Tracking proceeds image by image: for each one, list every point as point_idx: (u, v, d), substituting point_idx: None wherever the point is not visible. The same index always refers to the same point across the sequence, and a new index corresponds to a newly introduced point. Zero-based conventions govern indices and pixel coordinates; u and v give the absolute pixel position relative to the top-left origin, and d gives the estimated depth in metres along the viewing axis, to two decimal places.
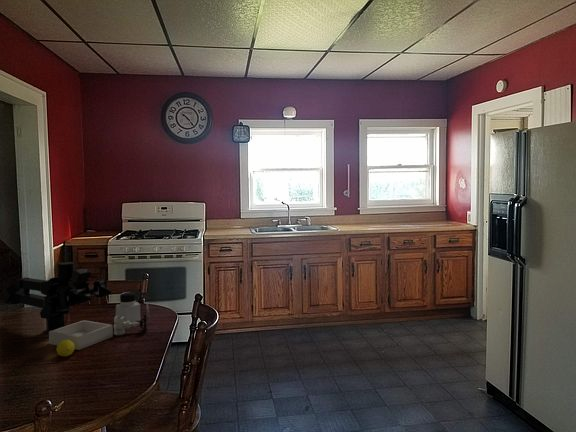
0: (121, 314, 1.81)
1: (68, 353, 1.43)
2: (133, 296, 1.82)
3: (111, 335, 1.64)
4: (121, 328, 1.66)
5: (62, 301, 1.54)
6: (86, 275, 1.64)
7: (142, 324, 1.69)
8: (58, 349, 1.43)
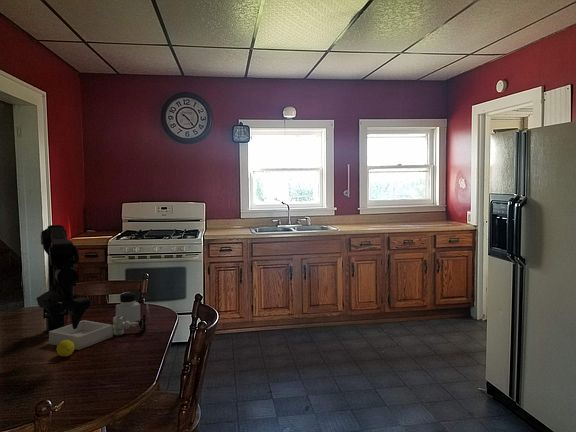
0: (121, 314, 1.81)
1: (68, 353, 1.43)
2: (133, 296, 1.82)
3: (111, 335, 1.64)
4: (120, 328, 1.66)
5: None
6: None
7: (141, 324, 1.69)
8: (58, 349, 1.43)
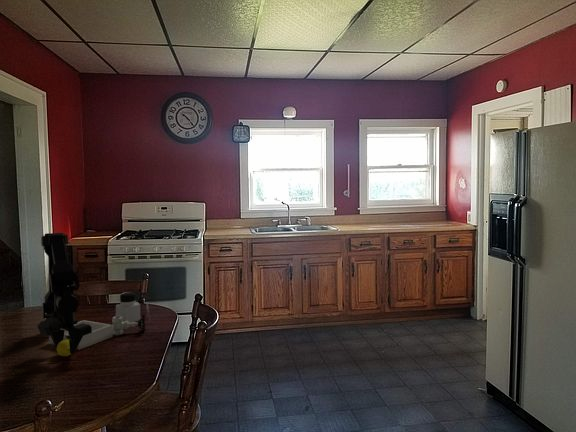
0: (121, 314, 1.81)
1: (68, 352, 1.43)
2: (133, 296, 1.82)
3: (111, 335, 1.64)
4: (119, 328, 1.66)
5: None
6: None
7: (140, 324, 1.69)
8: (58, 349, 1.43)
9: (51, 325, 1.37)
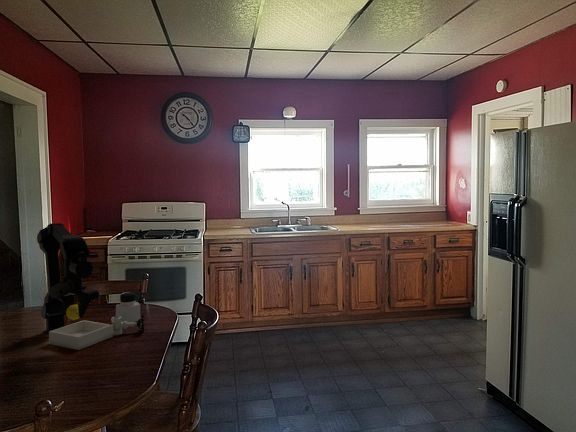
0: (121, 314, 1.81)
1: (77, 316, 1.52)
2: (133, 296, 1.82)
3: (111, 335, 1.64)
4: (118, 328, 1.66)
5: None
6: None
7: (139, 324, 1.69)
8: (67, 312, 1.52)
9: (61, 289, 1.46)
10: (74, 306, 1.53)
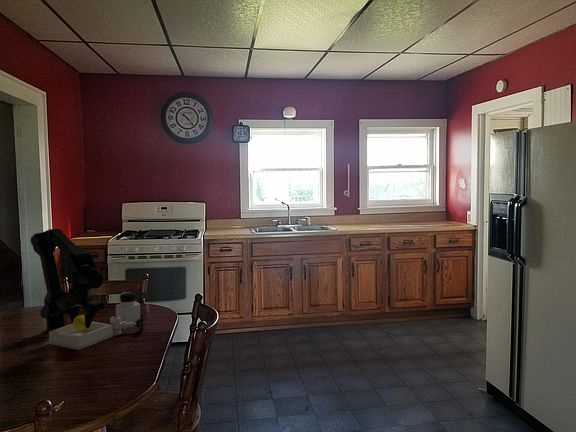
0: (121, 314, 1.81)
1: (83, 326, 1.58)
2: (133, 296, 1.82)
3: (111, 335, 1.64)
4: (118, 328, 1.66)
5: None
6: None
7: (139, 324, 1.69)
8: (74, 323, 1.58)
9: (69, 300, 1.51)
10: (81, 317, 1.59)
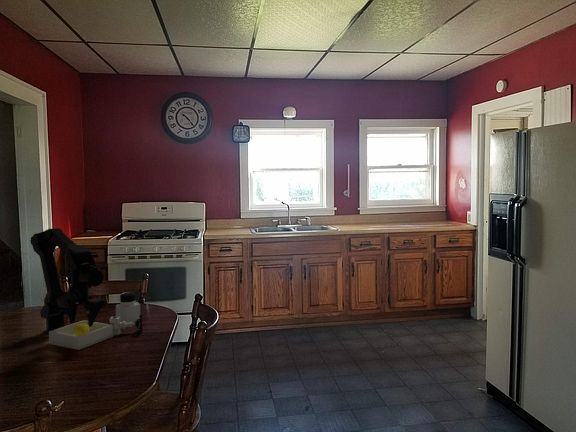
0: (121, 314, 1.81)
1: None
2: (133, 296, 1.82)
3: (111, 335, 1.64)
4: (117, 328, 1.66)
5: None
6: None
7: (138, 324, 1.69)
8: (75, 331, 1.58)
9: (69, 298, 1.51)
10: (81, 325, 1.59)
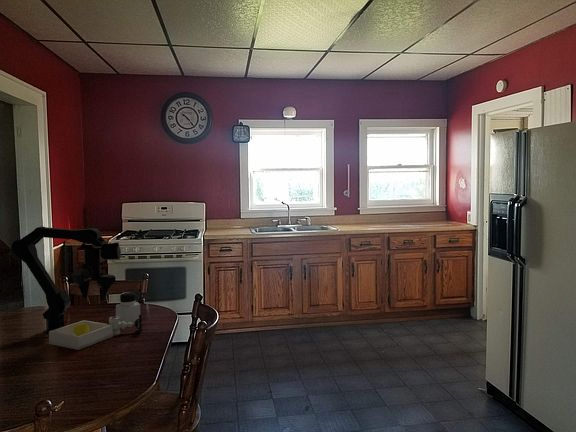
0: (121, 314, 1.81)
1: None
2: (133, 296, 1.82)
3: (111, 335, 1.64)
4: (116, 328, 1.66)
5: None
6: None
7: (137, 324, 1.69)
8: (75, 331, 1.58)
9: (83, 273, 1.63)
10: (81, 325, 1.59)
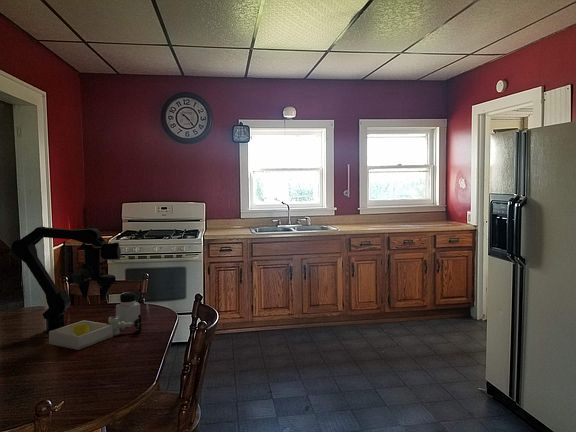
0: (121, 314, 1.81)
1: None
2: (133, 296, 1.82)
3: (111, 335, 1.64)
4: (116, 328, 1.66)
5: None
6: None
7: (137, 324, 1.69)
8: (75, 331, 1.58)
9: (83, 273, 1.63)
10: (81, 325, 1.59)
